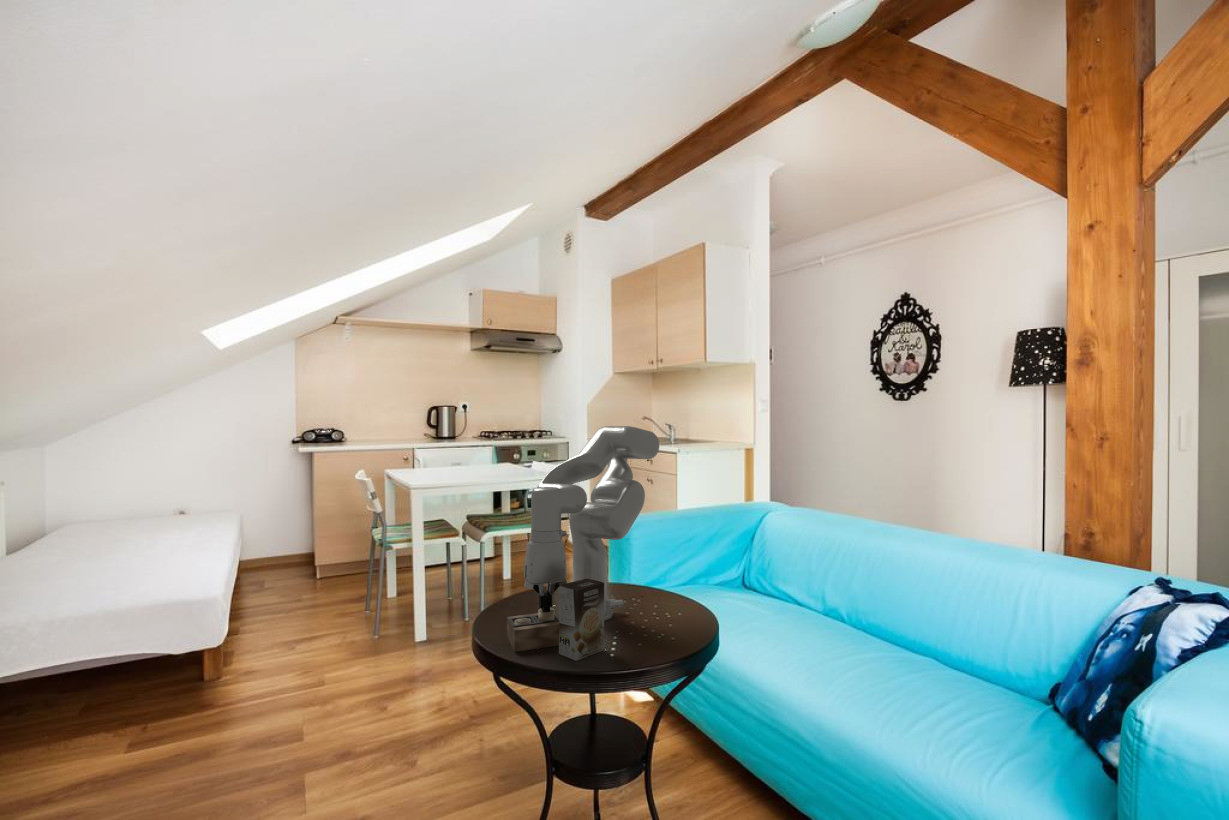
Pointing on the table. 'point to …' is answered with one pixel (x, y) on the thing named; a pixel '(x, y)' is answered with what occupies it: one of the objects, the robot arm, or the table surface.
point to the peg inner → (546, 615)
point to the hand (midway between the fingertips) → (545, 610)
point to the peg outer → (522, 621)
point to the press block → (532, 633)
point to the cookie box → (581, 618)
